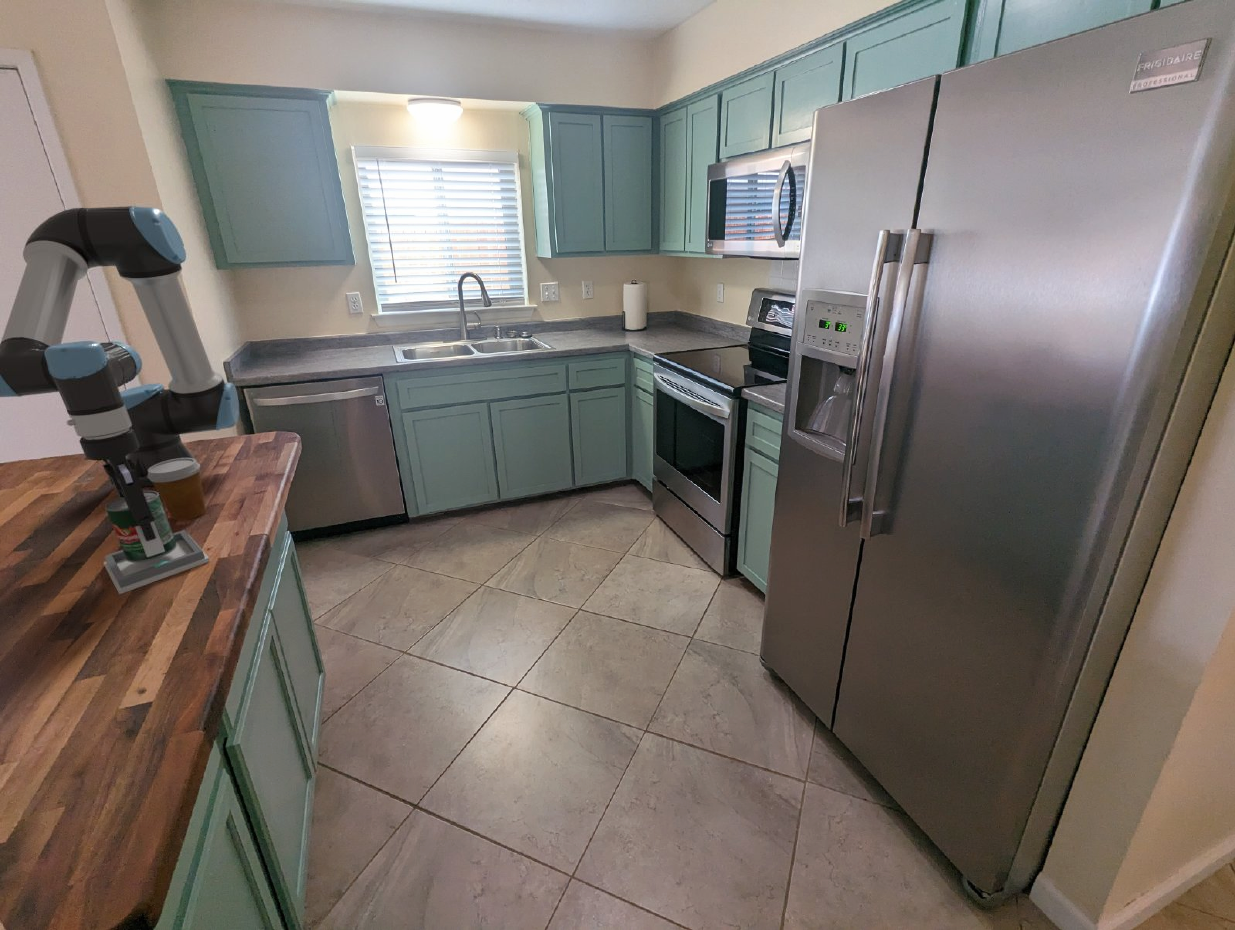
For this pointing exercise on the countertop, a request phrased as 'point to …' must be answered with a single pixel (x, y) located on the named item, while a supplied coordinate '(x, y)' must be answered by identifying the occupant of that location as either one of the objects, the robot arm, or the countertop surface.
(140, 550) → the canned tomato
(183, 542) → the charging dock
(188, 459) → the disposable coffee cup
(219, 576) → the countertop surface
